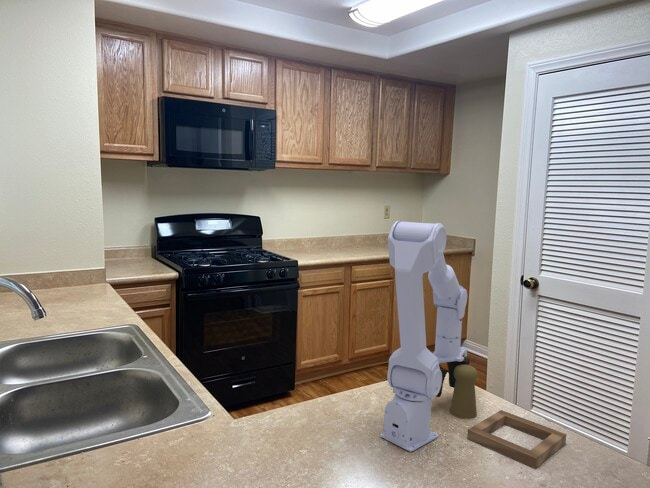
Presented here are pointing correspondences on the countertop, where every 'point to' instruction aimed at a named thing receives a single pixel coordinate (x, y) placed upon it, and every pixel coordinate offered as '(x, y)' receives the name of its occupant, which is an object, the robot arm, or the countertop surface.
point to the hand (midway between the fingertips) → (445, 391)
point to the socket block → (529, 457)
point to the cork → (464, 392)
